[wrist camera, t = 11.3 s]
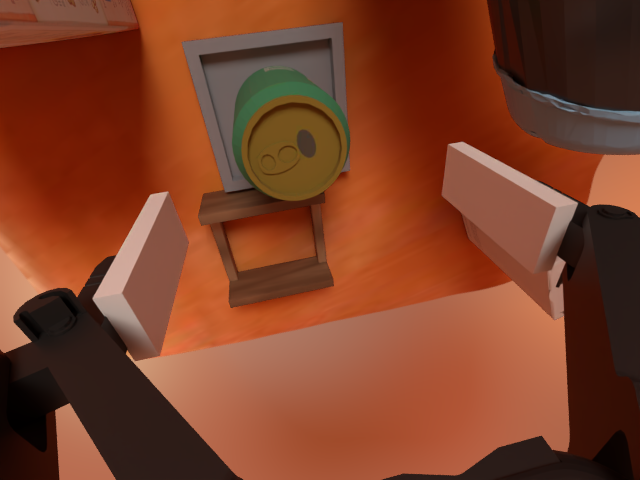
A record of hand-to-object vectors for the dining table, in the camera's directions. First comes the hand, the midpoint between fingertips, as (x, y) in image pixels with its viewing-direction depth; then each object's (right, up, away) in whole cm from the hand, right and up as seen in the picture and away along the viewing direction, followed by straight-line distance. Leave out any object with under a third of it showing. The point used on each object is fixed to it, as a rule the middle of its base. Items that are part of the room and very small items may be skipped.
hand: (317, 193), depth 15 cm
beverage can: (-4, +10, +15) cm, 19 cm away
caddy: (-6, -1, +23) cm, 23 cm away
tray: (-4, +10, +16) cm, 19 cm away
